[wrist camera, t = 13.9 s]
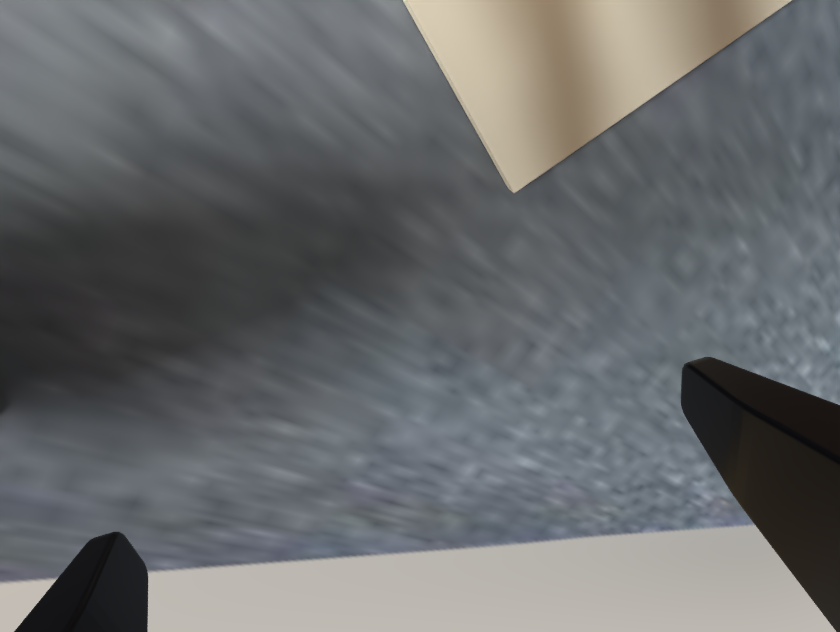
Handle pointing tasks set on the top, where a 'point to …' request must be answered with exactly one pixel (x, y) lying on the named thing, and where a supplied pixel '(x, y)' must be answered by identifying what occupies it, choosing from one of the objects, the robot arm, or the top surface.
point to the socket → (568, 64)
